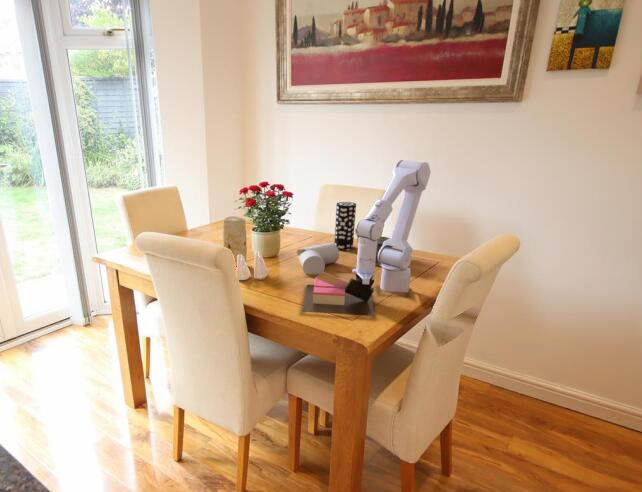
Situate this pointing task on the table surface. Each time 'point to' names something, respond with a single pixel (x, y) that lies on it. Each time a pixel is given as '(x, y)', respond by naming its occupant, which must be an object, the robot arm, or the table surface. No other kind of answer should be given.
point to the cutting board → (350, 305)
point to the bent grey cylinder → (317, 257)
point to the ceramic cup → (379, 245)
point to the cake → (324, 283)
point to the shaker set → (259, 267)
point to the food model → (235, 236)
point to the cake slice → (329, 296)
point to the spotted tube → (345, 225)
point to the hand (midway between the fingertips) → (363, 296)
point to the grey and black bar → (344, 285)
